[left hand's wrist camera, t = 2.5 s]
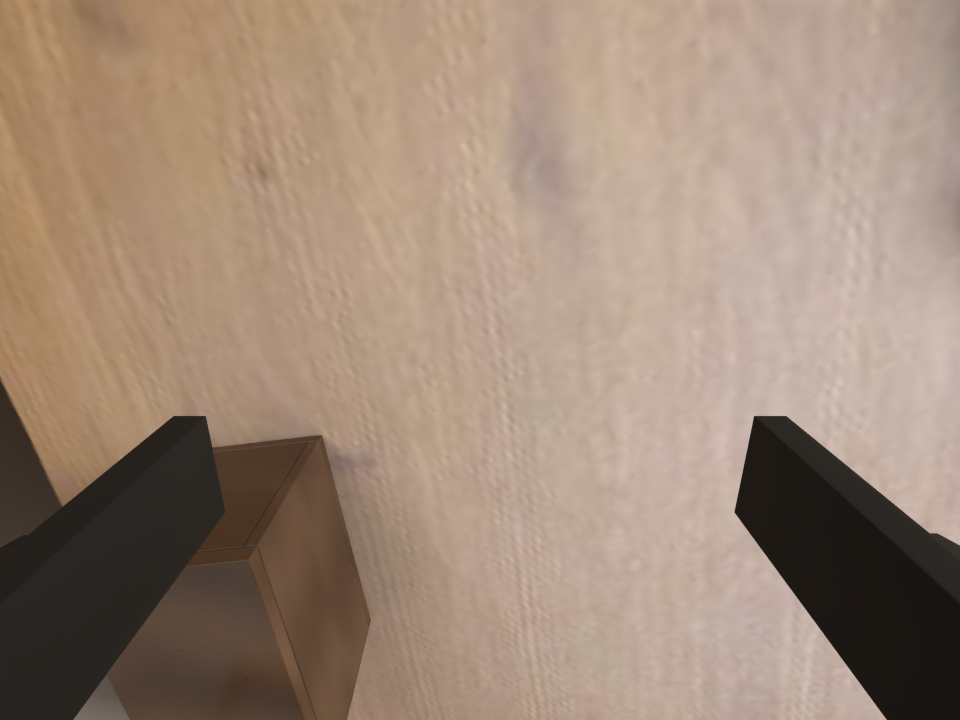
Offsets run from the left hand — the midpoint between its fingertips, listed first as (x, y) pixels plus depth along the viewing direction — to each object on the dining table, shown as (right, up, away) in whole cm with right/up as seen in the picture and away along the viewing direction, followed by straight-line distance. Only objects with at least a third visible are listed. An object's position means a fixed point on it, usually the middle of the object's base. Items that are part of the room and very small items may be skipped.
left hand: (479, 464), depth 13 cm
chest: (-14, -11, +25) cm, 31 cm away
